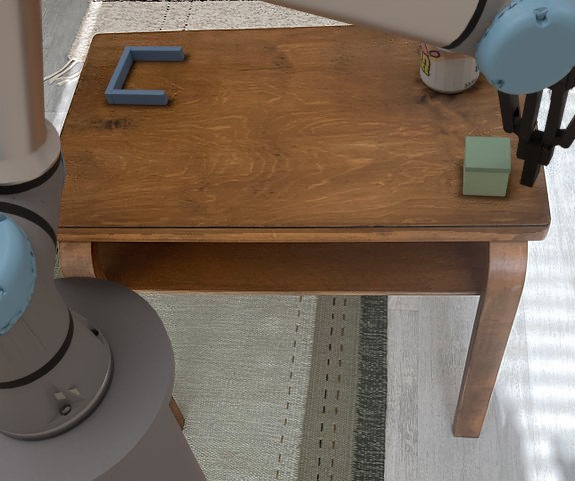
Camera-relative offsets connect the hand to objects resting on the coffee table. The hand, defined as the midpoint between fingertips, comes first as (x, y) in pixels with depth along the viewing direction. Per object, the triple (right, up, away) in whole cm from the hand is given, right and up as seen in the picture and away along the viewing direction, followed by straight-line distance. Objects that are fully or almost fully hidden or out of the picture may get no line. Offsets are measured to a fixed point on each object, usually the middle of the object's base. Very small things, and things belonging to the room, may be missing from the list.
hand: (529, 178), depth 89 cm
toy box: (-4, 0, +4) cm, 6 cm away
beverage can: (-6, +15, +17) cm, 23 cm away
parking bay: (-49, +17, +24) cm, 57 cm away
